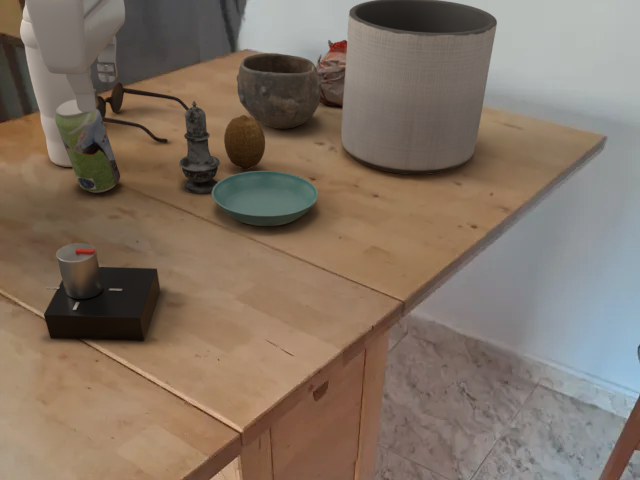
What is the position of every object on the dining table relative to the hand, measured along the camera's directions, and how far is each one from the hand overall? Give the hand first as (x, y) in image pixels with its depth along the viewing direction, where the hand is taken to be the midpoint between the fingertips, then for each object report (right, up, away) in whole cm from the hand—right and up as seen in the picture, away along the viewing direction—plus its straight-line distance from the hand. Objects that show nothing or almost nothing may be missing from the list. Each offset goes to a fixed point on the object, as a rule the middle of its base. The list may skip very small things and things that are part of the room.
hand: (99, 94), depth 73 cm
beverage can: (-9, -1, +27) cm, 29 cm away
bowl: (+16, +18, +49) cm, 55 cm away
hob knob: (-2, -20, +2) cm, 21 cm away
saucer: (+16, -5, +24) cm, 29 cm away
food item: (+27, +28, +60) cm, 72 cm away
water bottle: (-15, +6, +34) cm, 38 cm away
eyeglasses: (-7, +17, +46) cm, 50 cm away
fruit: (+12, +5, +34) cm, 37 cm away
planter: (+38, +10, +41) cm, 57 cm away
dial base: (0, -23, +4) cm, 23 cm away
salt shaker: (+6, 0, +29) cm, 29 cm away
